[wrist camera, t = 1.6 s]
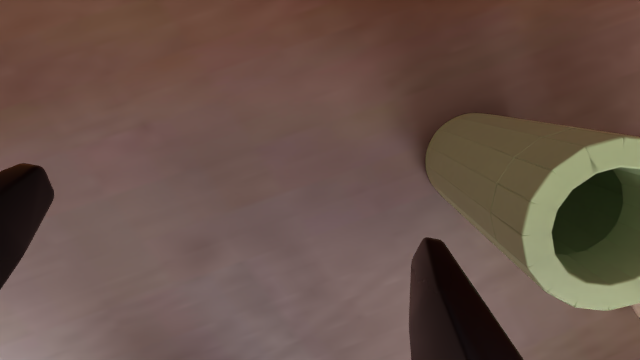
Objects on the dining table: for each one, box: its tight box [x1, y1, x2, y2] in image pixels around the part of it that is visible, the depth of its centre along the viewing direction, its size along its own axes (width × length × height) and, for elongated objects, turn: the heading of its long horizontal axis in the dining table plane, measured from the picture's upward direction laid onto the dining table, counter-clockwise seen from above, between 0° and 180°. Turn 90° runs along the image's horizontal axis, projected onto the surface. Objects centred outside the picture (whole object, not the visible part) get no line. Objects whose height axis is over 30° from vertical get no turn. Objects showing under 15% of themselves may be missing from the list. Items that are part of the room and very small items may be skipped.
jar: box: [425, 113, 640, 311], centre depth 19 cm, size 6×6×13 cm
